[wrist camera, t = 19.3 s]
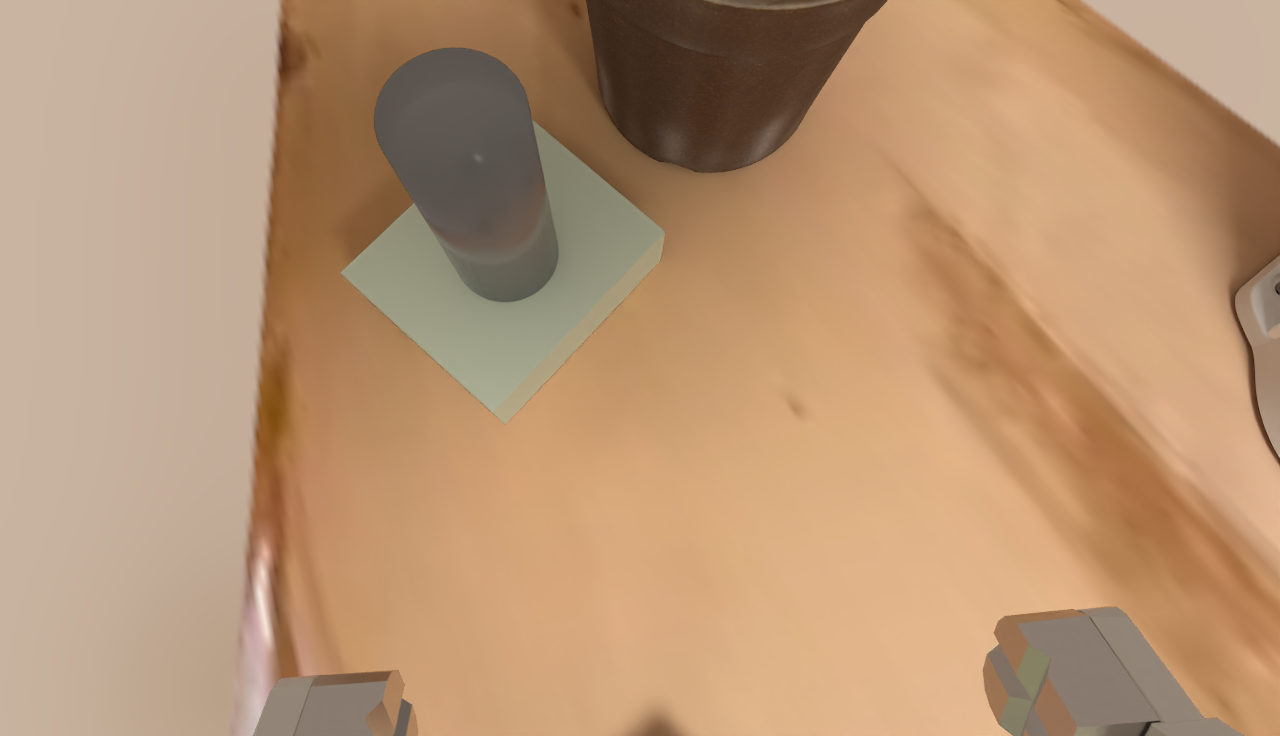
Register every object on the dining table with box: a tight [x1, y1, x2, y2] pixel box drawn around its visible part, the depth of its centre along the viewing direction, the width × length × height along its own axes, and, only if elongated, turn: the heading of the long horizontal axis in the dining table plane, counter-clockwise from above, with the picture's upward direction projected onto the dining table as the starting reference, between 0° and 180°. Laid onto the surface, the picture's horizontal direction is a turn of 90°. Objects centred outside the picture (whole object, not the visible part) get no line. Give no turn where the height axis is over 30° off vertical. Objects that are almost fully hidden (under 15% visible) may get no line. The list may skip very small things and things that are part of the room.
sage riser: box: [340, 119, 665, 425], centre depth 38 cm, size 12×10×4 cm
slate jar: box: [374, 48, 559, 302], centre depth 30 cm, size 5×5×12 cm
